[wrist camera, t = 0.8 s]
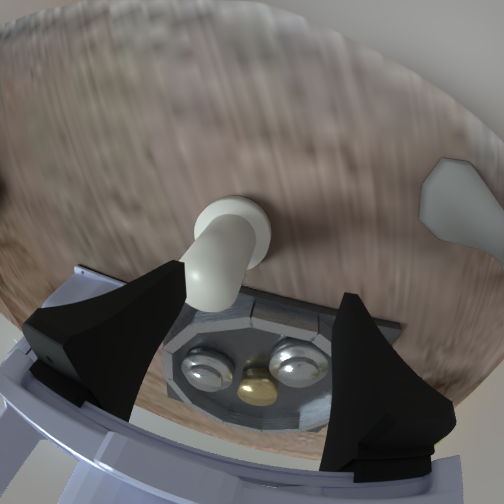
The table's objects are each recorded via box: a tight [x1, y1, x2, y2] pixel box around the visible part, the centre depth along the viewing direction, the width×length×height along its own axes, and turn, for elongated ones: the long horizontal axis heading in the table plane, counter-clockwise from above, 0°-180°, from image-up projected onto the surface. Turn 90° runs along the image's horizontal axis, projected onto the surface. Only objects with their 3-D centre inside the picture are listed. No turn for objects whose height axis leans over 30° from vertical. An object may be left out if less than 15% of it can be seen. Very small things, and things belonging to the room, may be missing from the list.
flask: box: [419, 158, 504, 270], centre depth 13 cm, size 7×7×10 cm
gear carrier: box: [162, 286, 402, 433], centre depth 29 cm, size 24×24×4 cm
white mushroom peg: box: [179, 196, 272, 312], centre depth 19 cm, size 6×6×8 cm
